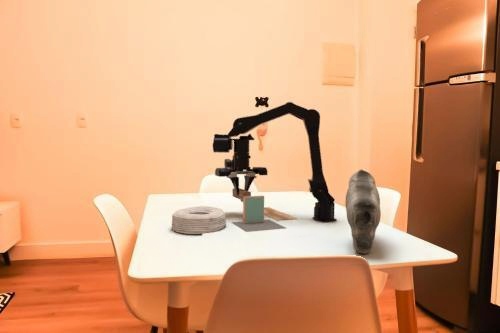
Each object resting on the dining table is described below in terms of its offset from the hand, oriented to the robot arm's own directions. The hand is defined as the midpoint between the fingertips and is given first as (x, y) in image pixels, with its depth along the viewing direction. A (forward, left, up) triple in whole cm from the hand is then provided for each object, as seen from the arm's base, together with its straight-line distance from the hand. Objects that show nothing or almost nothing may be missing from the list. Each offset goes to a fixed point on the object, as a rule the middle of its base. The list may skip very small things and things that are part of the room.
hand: (241, 195), depth 134 cm
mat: (0, +16, -8) cm, 18 cm away
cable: (+19, +11, -9) cm, 24 cm away
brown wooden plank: (0, +2, -1) cm, 2 cm away
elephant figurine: (-19, +44, -9) cm, 49 cm away
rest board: (-13, 0, -8) cm, 15 cm away
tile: (0, +12, -8) cm, 14 cm away
